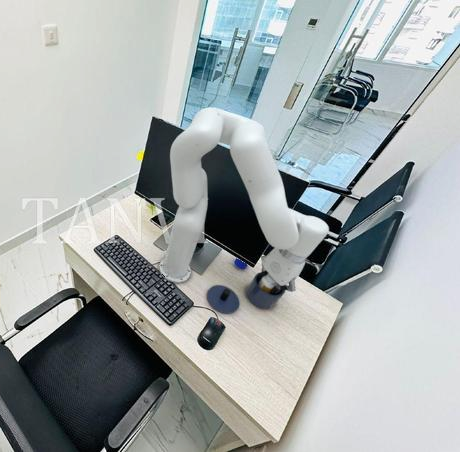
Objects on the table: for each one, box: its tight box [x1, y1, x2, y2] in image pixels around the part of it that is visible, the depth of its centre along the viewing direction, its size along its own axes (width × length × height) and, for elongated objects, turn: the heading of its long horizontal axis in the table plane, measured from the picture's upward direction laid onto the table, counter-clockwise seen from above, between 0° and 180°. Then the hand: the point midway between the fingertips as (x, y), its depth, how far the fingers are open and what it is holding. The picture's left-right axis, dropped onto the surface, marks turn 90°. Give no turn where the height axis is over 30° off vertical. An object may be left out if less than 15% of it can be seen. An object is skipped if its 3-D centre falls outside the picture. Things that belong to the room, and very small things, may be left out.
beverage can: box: [233, 257, 249, 270], centre depth 101 cm, size 5×5×15 cm
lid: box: [206, 284, 240, 314], centre depth 92 cm, size 11×11×6 cm
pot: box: [245, 271, 286, 310], centre depth 93 cm, size 10×10×8 cm
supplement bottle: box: [258, 273, 277, 294], centre depth 90 cm, size 5×5×10 cm
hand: (267, 285), depth 90 cm, fingers closed on supplement bottle, 5 cm apart
